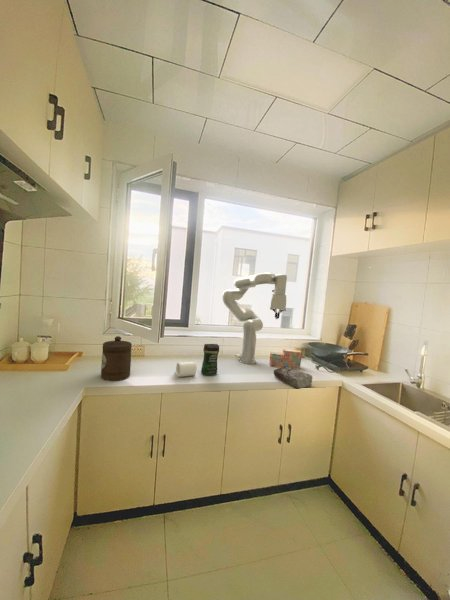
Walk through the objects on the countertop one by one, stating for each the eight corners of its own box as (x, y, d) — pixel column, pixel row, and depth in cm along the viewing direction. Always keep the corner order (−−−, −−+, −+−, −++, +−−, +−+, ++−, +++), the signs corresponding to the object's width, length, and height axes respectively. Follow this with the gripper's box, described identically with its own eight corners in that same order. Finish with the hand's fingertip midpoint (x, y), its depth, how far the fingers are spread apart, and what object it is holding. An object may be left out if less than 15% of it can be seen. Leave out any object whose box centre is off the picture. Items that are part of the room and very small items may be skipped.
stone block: (287, 363, 168) (313, 374, 152) (287, 374, 169) (313, 385, 153) (273, 369, 161) (298, 380, 144) (273, 379, 162) (298, 392, 146)
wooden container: (105, 370, 148) (108, 333, 146) (132, 371, 150) (135, 334, 148) (96, 380, 133) (99, 338, 131) (126, 381, 135) (129, 340, 133)
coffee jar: (203, 376, 152) (206, 345, 151) (199, 371, 160) (202, 342, 158) (218, 375, 156) (221, 345, 155) (214, 370, 163) (216, 342, 162)
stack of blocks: (270, 366, 184) (272, 349, 183) (269, 363, 190) (270, 347, 190) (300, 369, 184) (302, 352, 183) (297, 366, 190) (299, 350, 189)
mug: (196, 377, 150) (197, 364, 149) (179, 379, 145) (180, 365, 145) (189, 370, 160) (190, 357, 160) (173, 371, 156) (174, 358, 155)
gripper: (268, 291, 173) (265, 318, 174) (291, 293, 170) (288, 320, 171) (268, 291, 180) (266, 317, 181) (290, 293, 177) (287, 319, 178)
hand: (276, 318), depth 176 cm, fingers closed
